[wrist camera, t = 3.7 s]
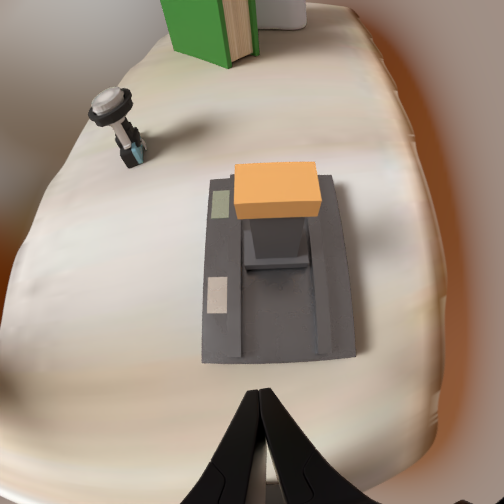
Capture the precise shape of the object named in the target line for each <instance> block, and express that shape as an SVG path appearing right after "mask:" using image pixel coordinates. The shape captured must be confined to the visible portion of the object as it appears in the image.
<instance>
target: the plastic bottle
mask: <svg viewBox="0 0 504 504" xmlns="http://www.w3.org/2000/svg"><path fill="white" fill-rule="evenodd" d="M255 2H256V14H257V27H258V29H280V30H297V29H301V28H303V27H305V26H306V24H307V16H306V1H305V0H255Z"/></svg>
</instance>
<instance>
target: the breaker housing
mask: <svg viewBox="0 0 504 504" xmlns="http://www.w3.org/2000/svg"><path fill="white" fill-rule="evenodd" d="M317 176H318V182H319V187H320V193H321V199H322V202H321V206H320V209H319V213H318V216H316V217H305V221H304V226H303V228H305V229H306V238H307V248H308V259H309V264H308V267H301V268H277V269H250V270H245V266H244V231H249V230H251V226H250V220H249V219H237V215H236V211H235V206H234V182H235V174H233V175H230V178H228V179H214V180H210V188H209V200H208V213H207V227H206V243H205V261H204V283H203V311H202V363H217V364H266V363H291V362H307V361H320V360H332V359H341V358H350V357H356V349H355V333H354V320H353V309H352V299H351V289H350V281H349V273H348V265H347V258H346V251H345V244H344V238H343V232H342V226H341V220H340V214H339V209H338V203H337V198H336V193H335V188H334V183H333V179H332V175H317Z"/></svg>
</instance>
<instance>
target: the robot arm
mask: <svg viewBox="0 0 504 504" xmlns="http://www.w3.org/2000/svg"><path fill="white" fill-rule="evenodd" d="M266 440H267V442H266ZM267 444H268V448H269V452H270V455H271V459H272V462H273V466H274V469H275V472H276V476H277V479H278V482H279V485H266V457H267ZM180 504H381V503H378V502H376V501H374V500H372V499H370V498H369V497H368V496H366V495H365V494H363V493H362V492H361V491H360V490H358V489H357V488H356V487H355V486H353V485H352V484H351V483H350V482H349V481H347V480H346V479H345V478H344V477H343V476H341V475H340V474H339V473H338V472H337V471H336V470H335V469H334V468H333V467H332V466H331V465H330V464H329V463H328V462H327V461H326V460H325V459H324V457H323V456H322V455H321V454H320V453H319V451H318V450H317V449H316V448H315V446H314V445H313V444H312V443H311V441H310V440H309V439H308V438H307V436H306V435H305V434H304V432H303V431H302V430H301V429H300V427H299V426H298V425H297V423H296V422H295V421H294V419H293V418H292V417H291V415H290V414H289V413H288V411H287V410H286V409H285V407H284V406H283V405H282V403H281V402H280V400H279V399H278V398H277V396H276V395H275V394H274V392H273V391H272V389H271V388H264V389H260V390H259V391H258V390H249V391H247V392H246V393H245V395H244V397H243V399H242V401H241V403H240V405H239V407H238V409H237V411H236V413H235V415H234V417H233V419H232V421H231V423H230V425H229V427H228V429H227V431H226V433H225V435H224V436H223V438H222V440H221V442H220V444H219V446H218V448H217V450H216V451H215V453H214V455H213V457H212V459H211V462H209V464H208V466H207V467H206V469H205V471H204V472H203V474H202V476H201V477H200V479H199V480H198V482H197V483H196V484H195V486H194V487H193V488H192V490H191V491H190V492H189V494H188V495H187V496H186V497H185V498H184V500H183V501H182V502H181V503H180ZM454 504H472V503H470V502H468V501H465V500H460V501H458V502H456V503H454ZM496 504H504V497H503V498H502V499H501V500H499V501H498V502H497V503H496Z"/></svg>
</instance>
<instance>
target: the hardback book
mask: <svg viewBox="0 0 504 504" xmlns="http://www.w3.org/2000/svg"><path fill="white" fill-rule="evenodd" d="M160 2H161V5H162V9H163V12H164V16H165V20H166V23H167V27H168V30H169V34H170V38H171V41H172V45H173V48H174V51H177V52H180V53H183V54H187V55H190V56H193V57H196V58H199V59H202V60H205V61H208V62H210V63H213V64H216V65H219V66H221V67H224V68H226V69H229V68H231V67H232V62H233V61H235V60H237V59H239V58H241V57H244V56H246V55H248V54H250V55H253V56H258V55H260V54H259V40H258V27H257V14H256V2H255V0H160Z"/></svg>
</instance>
